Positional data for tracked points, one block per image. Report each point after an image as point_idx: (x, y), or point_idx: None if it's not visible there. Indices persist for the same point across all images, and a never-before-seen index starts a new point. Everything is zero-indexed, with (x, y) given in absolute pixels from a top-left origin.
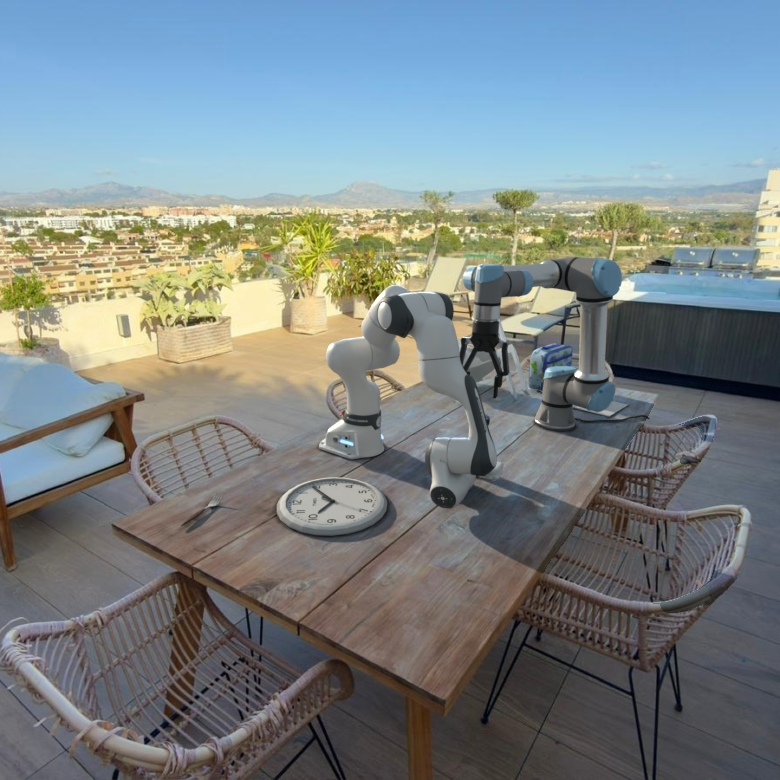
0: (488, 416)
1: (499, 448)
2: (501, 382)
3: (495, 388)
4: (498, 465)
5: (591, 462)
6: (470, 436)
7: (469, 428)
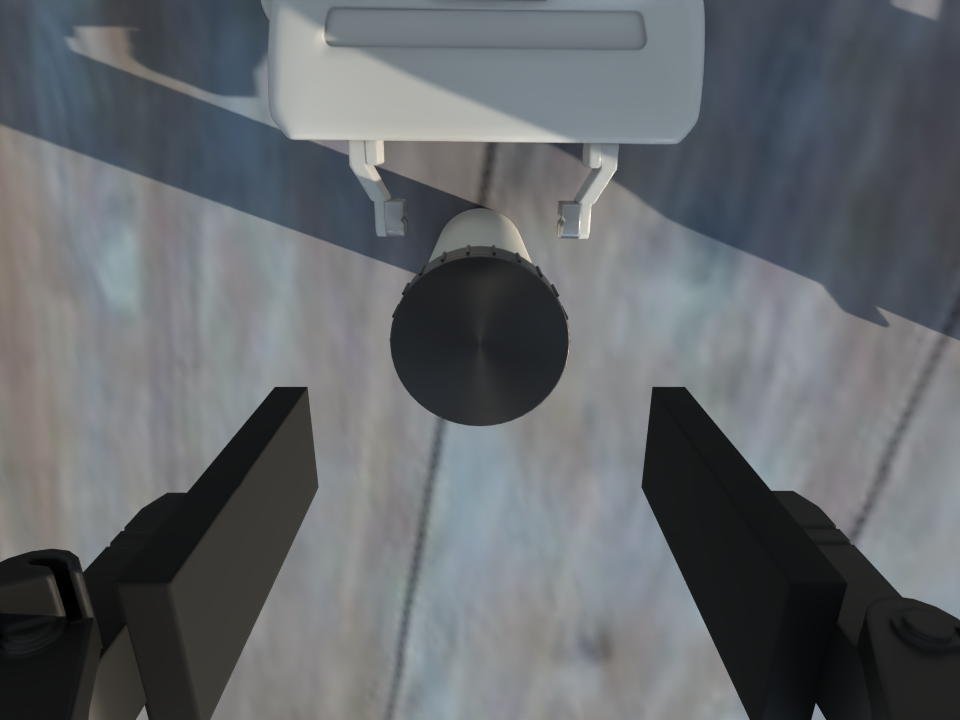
0: (410, 388)
1: (443, 535)
2: (112, 564)
3: (230, 452)
4: (281, 66)
5: None
6: (519, 253)
7: None
